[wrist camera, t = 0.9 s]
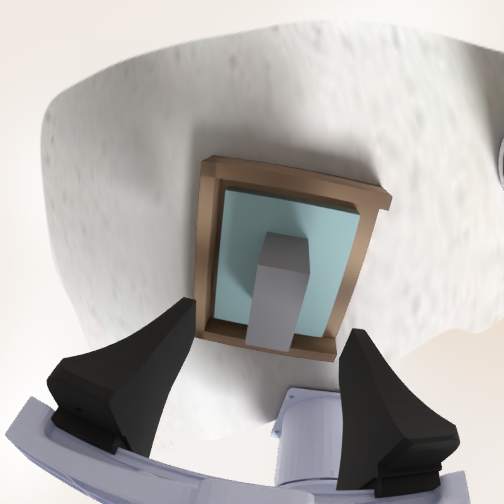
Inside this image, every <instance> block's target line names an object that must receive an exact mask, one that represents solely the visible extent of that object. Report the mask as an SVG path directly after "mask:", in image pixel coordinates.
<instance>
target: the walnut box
mask: <svg viewBox="0 0 504 504" xmlns="http://www.w3.org/2000/svg"><path fill="white" fill-rule="evenodd" d="M229 186H232V187H238V188H245V189H251V190H257V191H263V192H269V193H275V194H280V195H286V196H291V197H297V198H302V199H307V200H312V201H318V202H323V203H327V204H332V205H337V206H342V207H347V208H351V209H356V210H358V212H359V213H360V215H361V216H360V219H359V223H358V227H357V230H356V234H355V238H354V241H353V245H352V248H351V251H350V255H349V258H348V262H347V265H346V268H345V271H344V275H343V278H342V281H341V284H340V287H339V290H338V293H337V296H336V299H335V302H334V305H333V308H332V311H331V314H330V317H329V319H328V322H327V325H326V328H325V331H324V333H323V336H322V337H315V336H309V335H302V334H296V333H294V335H293V338H292V342H291V345H290V348H289V352H284V351H279V350H273V349H267V348H262V347H256V346H251V345H246V344H245V340H246V334H247V328H248V325H246V324H241V323H236V322H232V321H227V320H222V319H217V318H214V313H215V300H216V287H217V275H218V263H219V252H220V241H221V231H222V220H223V210H224V201H225V191H226V189H227V188H228V187H229ZM391 200H392V196H391V195H390V194H389V193H388V192H387V191H386V190H385V189H384V188H383V187H380V186H376V185H372V184H368V183H364V182H360V181H356V180H351V179H347V178H342V177H338V176H333V175H328V174H323V173H318V172H313V171H308V170H303V169H298V168H292V167H287V166H281V165H275V164H269V163H263V162H256V161H250V160H243V159H236V158H228V157H220V156H211V157H209V158H207V159H205V160H203V161H202V164H201V176H200V188H199V202H198V216H197V233H196V252H195V275H194V300H196V333H195V336H194V337H197V338H201V339H205V340H209V341H214V342H218V343H223V344H228V345H232V346H237V347H242V348H247V349H252V350H258V351H263V352H269V353H274V354H280V355H286V356H292V357H299V358H305V359H312V360H319V361H327V362H334V360H335V358H336V355H337V352H336V342H335V338H336V336H337V333H338V331H339V328H340V326H341V323H342V320H343V318H344V315H345V313H346V310H347V307H348V305H349V302H350V299H351V296H352V293H353V291H354V288H355V285H356V282H357V279H358V276H359V273H360V270H361V267H362V264H363V261H364V258H365V255H366V252H367V248H368V245H369V242H370V239H371V235H372V232H373V228H374V225H375V221H376V218H377V214H378V211H379V209H383V210H388V211H389V208H390V204H391Z"/></svg>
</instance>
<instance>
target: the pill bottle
mask: <svg viewBox="0 0 504 504" xmlns="http://www.w3.org/2000/svg"><path fill="white" fill-rule="evenodd" d="M499 175H500V180H501V184H502V187H503V189H504V138H503V140H502V143H501V147H500V151H499Z"/></svg>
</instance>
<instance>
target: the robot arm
mask: <svg viewBox="0 0 504 504" xmlns="http://www.w3.org/2000/svg"><path fill="white" fill-rule="evenodd" d="M195 333H196V300H194V299H190V298H185V297H183V298H182V299H180V300H179V301H178V302H177V303H176V304H174V305H173V306H172V307H171V308H169V309H168V310H167V311H166V312H164V313H163V314H162V315H160V316H159V317H158V318H156V319H155V320H154V321H152V322H151V323H149V324H148V325H146V326H145V327H143V328H142V329H140V330H139V331H137V332H135V333H134V334H132V335H130V336H128V337H126V338H125V339H123V340H121V341H118V342H116V343H114V344H111V345H109V346H107V347H104V348H101V349H98V350H96V351H92V352H89V353H86V354H82V355H77V356H73V357H68V358H63V359H62V360H61V362H60V363H59V364H58V365H57V366H56V368H55V369H54V370H53V372H52V373H51V375H50V376H49V377H48V379H47V386H48V389H49V391H50V393H51V394H52V396H53V397H54V399H55V401H56V403H57V405H58V406H59V407H58V409H57V410H56V411H54V410H53V409H52V408H51V407H49V406H48V405H46V404H44V403H43V402H41V401H39V400H38V399H36V398H34V397H30V398H29V400H28V401H27V403H26V404H25V406H24V407H23V408H22V410H21V411H20V413H19V414H18V416H17V417H16V418H15V420H14V421H13V423H12V425H11V426H10V427H9V429H8V430H7V432H6V434H5V435H6V437H7V438H8V439H9V440H10V441H11V442H12V443H13V444H14V445H15V446H16V447H17V448H18V449H19V450H20V451H21V452H22V453H23V454H24V455H25V456H26V457H27V458H28V459H29V460H30V461H32V462H33V463H35V464H36V465H38V466H39V467H41V468H42V469H44V470H45V471H47V472H48V473H50V474H51V475H53V476H55V477H56V478H58V479H59V480H61V481H63V482H65V483H66V484H68V485H70V486H71V487H73V488H74V489H77V490H78V491H80V492H82V493H83V494H85V495H87V496H89V497H91V498H93V499H95V500H97V501H99V502H100V503H103V504H470V498H469V492H468V487H467V482H466V477H465V472H464V471H458V472H454V473H449V474H445V475H442V476H440V477H439V471H440V470H442V465H441V462H442V461H444V460H445V459H446V458H447V457H448V456H450V455H451V454H452V453H453V452H454V451H455V450H456V449H457V448H458V446H459V444H460V439H459V435H458V432H457V428H456V426H455V425H454V424H452V423H451V422H449V421H448V420H446V419H444V418H443V417H441V416H440V415H438V414H437V413H435V412H434V411H433V410H431V409H430V408H429V407H428V406H426V405H425V404H424V403H423V402H422V401H421V400H420V399H418V398H417V397H416V396H415V395H414V394H413V393H412V392H411V391H410V390H409V389H408V388H407V387H406V386H405V385H404V383H403V382H402V381H401V380H400V379H399V378H398V376H397V375H396V374H395V373H394V371H393V370H392V369H391V367H390V366H389V365H388V363H387V362H386V361H385V359H384V358H383V356H382V355H381V353H380V352H379V350H378V349H377V347H376V346H375V344H374V343H373V341H372V340H371V338H370V337H369V335H368V334H367V332H366V331H365V330H363V329H355V328H352V331H351V333H350V335H349V338H348V340H347V342H346V345H345V347H344V349H343V351H342V353H341V356H340V358H339V386H340V393H335V392H326V391H317V390H309V389H301V388H290V389H288V391H287V394H286V397H285V399H284V402H283V404H282V407H281V410H280V412H279V415H278V417H277V420H276V422H275V425H274V427H273V430H272V432H271V436H272V437H274V438H280V439H279V448H278V456H277V464H276V472H275V487H271V486H262V485H256V484H249V483H243V482H237V481H232V480H227V479H222V478H217V477H212V476H208V475H204V474H200V473H195V472H192V471H188V470H185V469H181V468H177V467H174V466H170V465H167V464H164V463H161V462H158V461H155V460H152V459H149V456H150V452H151V448H152V444H153V441H154V437H155V434H156V430H157V427H158V424H159V421H160V418H161V415H162V412H163V409H164V406H165V403H166V400H167V397H168V394H169V392H170V390H171V387H172V385H173V383H174V381H175V379H176V377H177V375H178V373H179V371H180V369H181V367H182V365H183V363H184V361H185V359H186V357H187V355H188V353H189V351H190V348H191V345H192V342H193V339H194V336H195Z"/></svg>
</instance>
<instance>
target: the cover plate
mask: <svg viewBox="0 0 504 504" xmlns="http://www.w3.org/2000/svg"><path fill="white" fill-rule="evenodd" d="M360 216H361V215H360V213H359V212H358V210H356V209H351V208H347V207H342V206H337V205H332V204H327V203H323V202H318V201H312V200H307V199H302V198H297V197H291V196H286V195H280V194H275V193H269V192H263V191H257V190H251V189H245V188H238V187H232V186H229V187H228V188H227V189H226V191H225V201H224V210H223V220H222V231H221V241H220V252H219V263H218V275H217V287H216V300H215V313H214V318H217V319H222V320H227V321H232V322H236V323H241V324H246V325H248V328H247V334H246V340H245V344H246V345H251V346H256V347H262V348H267V349H273V350H279V351H284V352H289V348H290V345H291V342H292V338H293V335H294V333H296V334H302V335H309V336H315V337H322V336H323V333H324V331H325V328H326V325H327V322H328V319H329V317H330V314H331V311H332V308H333V305H334V302H335V299H336V296H337V293H338V290H339V287H340V284H341V281H342V278H343V275H344V271H345V268H346V265H347V262H348V258H349V255H350V251H351V248H352V245H353V241H354V238H355V234H356V230H357V227H358V223H359V219H360Z"/></svg>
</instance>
